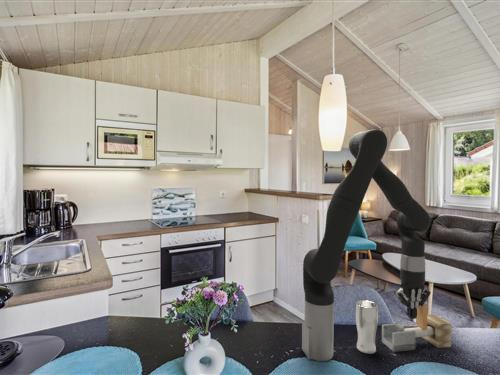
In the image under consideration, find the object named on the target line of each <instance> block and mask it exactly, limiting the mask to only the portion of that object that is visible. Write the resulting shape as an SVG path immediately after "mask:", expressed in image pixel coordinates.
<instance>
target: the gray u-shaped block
mask: <svg viewBox="0 0 500 375" xmlns="http://www.w3.org/2000/svg"><path fill="white" fill-rule="evenodd" d="M404 329H405V323H403V322H397V323H385V324H381V342H382V343H383V344H384V345H385V346H386V347H387V348H389V350H391V351H392V352H394V353H395V352H405V351H415V350H416V338H417V337H416V332H415V331H404Z"/></svg>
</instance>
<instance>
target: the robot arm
mask: <svg viewBox="0 0 500 375" xmlns="http://www.w3.org/2000/svg"><path fill="white" fill-rule="evenodd" d="M387 148H388V136H387V135H386V133H385V132H384V131H383V130H381V129H375V128H373V129H369V130H363V131H360V132H357V133H354V134H353V135H352V136H350V139H349V141H348V149H349V152H350V154H351V155H352V156H353V157H354V159H355V161H354V164H353V166H352V167H351V169H350V171H349V172H348V173H347V175H346V176H345V177H344V178H343V179H342V180H341V182H340V183H339V184H338V186H337V187H336V188H335V190H334V192H333V194H332V197H331V198H330V202H329V205H328V207H327V212H326V216H325V217H326V218H325V228H324V234H323V237H322V240H321V243H320V245H319V247H318V248H313V249H311V250H309V251H307V253H306V254H305V256H304V258H303V264H302V280H303V281H302V286H303V291H304V320H302V321H301V322H302V323H301V350H302V351H303V352H302V353H304V354H305V356H306V358H307V359H308V360H313V361H316V362H327V361H330V360H331V359H333V358H334V330H335V329H334V325H335V324H334V323H335V320H334V319H335V312H334V311H335V293H334V291H333V287H332V283H331V282H332V281H333V280H334V279H335V277H336V276H337V274H338V272H339V269H340V265H341V261H342V258H343V254H344V250H345V247H346V244H347V241H348V240H349V237H350V235H351V232H352V230H353V226H354V223H355V221H356V219H357V218H358V214H359V212H360V209H361V207H362V205H363V201H364V199H365V195H366V193H367V192H368V189H369V187H370V184H371V181H372V180H373V181H374V182H375V183H376V185H377V186H378V187H379V189H380V191H381V192H382V193H383V195H384V196H385V198H386V200H387V201H388V203H389V204H390V206H391V208H392V209H394V210H395V211H397V212H399V213H398V215H397V218H396V226H397V230H398V235H399V237H400V242H401V248H400V249H401V254H400V266H399V267H400V268H399V269H400V270H399V272H400V276H399V277H400V281H401V283H400V284H399V285H400V286H399V289H398V290H394V291H393V293H394V295H395V297H396V298H397V299H398V301H399V302H400V303H401V305H403V306H404V307H406V316H407V317H408V318H409V319H410V320H415V319H416V320H417V308H418V306H423V304H424V303H425V304H426V301H427V300H428V298H429V296H430V295H431V291H429V290H428V289H426V287H425V286H426V285H425V283H426V257H425V252H426V251H425V248H426V247H425V246H426V245H425V241H424V239H422V238H421V237H419V236H418V235H417V232H419V233H420V232H421V233H423V232H426V231H427V230H429V228H430V226H431V217H430V215H429V213H428V212H427V210H426V209H425V208H424V207H423V206H422V205H421V204H419V202H418V201H417V200H415V198H413V196H412V195H411V193H410V191H409V189H408V188H407V187H406V185H405V184H404V182H403V181H402V180H401V179H400V178H399V177H398V176H397V175H396V174H395V173H394V172H393V171H392V170H390V169H389V168H388V167H387V166H386V165H385V163H384V162H383V161H382V159H383V157H384V155H385V153H386V151H387Z"/></svg>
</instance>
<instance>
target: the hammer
mask: <svg viewBox="0 0 500 375" xmlns="http://www.w3.org/2000/svg"><path fill="white" fill-rule="evenodd" d="M427 315H428V304H427V303H426V302H425V303H424V304H423V306H418V308H417V317H416V327H404V331H415V332H416V338H422V337H425V336H435V327H433V326H427Z"/></svg>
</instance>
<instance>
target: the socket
mask: <svg viewBox="0 0 500 375" xmlns="http://www.w3.org/2000/svg"><path fill="white" fill-rule="evenodd" d="M427 326H433V327H435V336H425V337H421V338H422V339H423V340H425V341H427V342H428V343H430V344H432V345H433V346H434V347H436V348H438V349H440V348H441V349H442V348H451V347H452V322H450V321H448V320H445V319H444V318H442V317H440V316H438V315H437V314H435V313H434V314H427Z"/></svg>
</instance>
